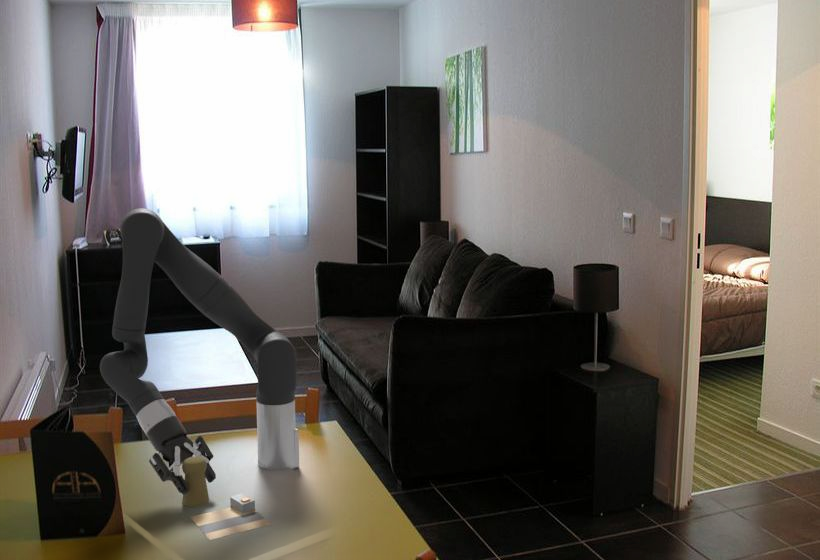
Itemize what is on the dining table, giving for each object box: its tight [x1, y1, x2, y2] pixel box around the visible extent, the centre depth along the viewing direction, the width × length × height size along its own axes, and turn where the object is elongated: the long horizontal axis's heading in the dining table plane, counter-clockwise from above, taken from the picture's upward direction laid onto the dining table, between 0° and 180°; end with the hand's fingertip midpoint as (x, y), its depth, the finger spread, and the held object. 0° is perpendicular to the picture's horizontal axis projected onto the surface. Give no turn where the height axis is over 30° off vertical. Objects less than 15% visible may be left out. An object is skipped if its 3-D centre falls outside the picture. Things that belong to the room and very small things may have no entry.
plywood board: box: [190, 506, 272, 541], centre depth 173 cm, size 13×12×1 cm
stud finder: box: [229, 492, 256, 513], centre depth 179 cm, size 3×5×2 cm, turn 42°
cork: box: [181, 455, 210, 508], centre depth 181 cm, size 6×6×11 cm
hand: (200, 486), depth 181 cm, fingers open, 7 cm apart
